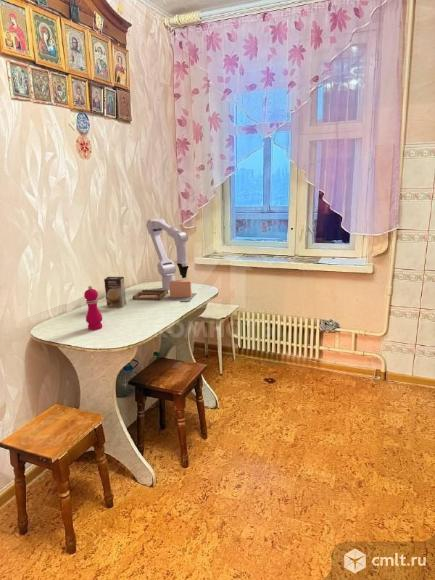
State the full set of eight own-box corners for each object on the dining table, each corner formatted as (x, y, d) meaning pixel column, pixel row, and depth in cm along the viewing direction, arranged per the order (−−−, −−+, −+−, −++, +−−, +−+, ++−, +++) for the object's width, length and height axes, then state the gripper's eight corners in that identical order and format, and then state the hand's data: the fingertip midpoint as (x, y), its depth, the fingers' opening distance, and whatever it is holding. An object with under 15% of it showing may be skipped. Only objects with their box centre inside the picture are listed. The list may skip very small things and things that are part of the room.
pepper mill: (88, 331, 178) (82, 288, 173) (86, 326, 184) (80, 285, 179) (104, 328, 181) (99, 286, 175) (102, 324, 187) (97, 283, 182)
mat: (174, 293, 235) (174, 292, 235) (196, 294, 232) (196, 293, 232) (164, 301, 220) (164, 300, 220) (189, 302, 217) (189, 301, 217)
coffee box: (106, 308, 211) (103, 279, 207) (110, 305, 217) (107, 276, 213) (123, 308, 210) (120, 279, 206) (127, 304, 216) (124, 276, 212)
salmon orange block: (171, 295, 229) (170, 280, 226) (191, 295, 228) (190, 280, 226) (170, 297, 225) (168, 282, 223) (191, 297, 225) (190, 281, 222)
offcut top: (140, 297, 228) (140, 295, 228) (157, 297, 227) (157, 295, 227) (138, 299, 224) (138, 297, 224) (156, 299, 223) (156, 297, 223)
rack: (143, 293, 238) (142, 289, 237) (168, 294, 234) (168, 290, 234) (133, 300, 224) (132, 296, 223) (159, 301, 221) (159, 297, 220)
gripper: (173, 251, 234) (174, 274, 238) (176, 255, 221) (177, 279, 224) (185, 251, 236) (186, 273, 239) (188, 255, 222) (190, 278, 226)
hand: (183, 276), depth 232 cm, fingers open, 7 cm apart
